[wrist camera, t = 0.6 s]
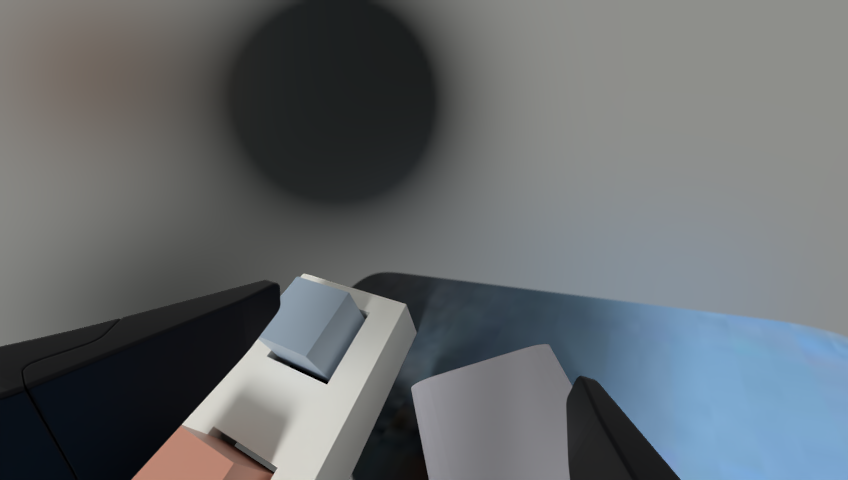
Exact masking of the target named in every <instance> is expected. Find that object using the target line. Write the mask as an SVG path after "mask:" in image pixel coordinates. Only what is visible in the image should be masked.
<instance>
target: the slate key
mask: <svg viewBox="0 0 848 480" xmlns="http://www.w3.org/2000/svg"><path fill="white" fill-rule="evenodd" d="M280 301H281V305H280V309H279V311H278V313H277V314H276V315H275V317H274V318H273V319H272V321H271V322H270V323H269V325H268V326H267V327H266V329H265V330H264V331H263V333H262V334H261V335H260V337H259V338H258V339H259V340H260V341H261V342H262V343H263V344H265V345H266V346H267V347H268V348H269V349H270V350H272V351H273V352H274V353H275V354H276V355H277V356H279V357H280V358H281V359H282V360H283V361H284V362H286V363H288V364H291V365H293V366H295V367H297V368H299V369H302V370H304V371H306V372H308V373H310V374H312V375H315V376H317V377H319V378H321V379H323V380H325V381H328V382H329V381H330V379H331V377H332V375H333V374H334V372H335V370H336V369H337V367H338V365H339V364H340V362H341V360H342V359H343V357H344V355H345V354H346V352H347V350H348V349H349V347H350V345H351V344H352V342H353V340H354V338H355V337H356V335H357V333H358V332H359V330H360V328H361V327H362V325H363V323H364V322H365V319H364V317H363V316H362V314H361V312H360V310H359V309H358V307H357V305H356V304H355V302H354V300H353V298H352V297H351V295H350V293H349V292H346V291H343V290H340V289H336V288H333V287H330V286H327V285H323V284H320V283H317V282H314V281H310V280H307V279H304V278H301V277H296V279H295V280H294V281H293V282H292V283H291V285H290V286H289V287H288V288H287V289H286V291H285V292H284V293H283V294H282V296H281V297H280Z"/></svg>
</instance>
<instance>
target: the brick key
mask: <svg viewBox="0 0 848 480" xmlns="http://www.w3.org/2000/svg"><path fill="white" fill-rule="evenodd" d="M273 475H274V472H273V471H271V470H269V469H268V468H266V467H265V466H263V465H262V464H260V463H259V462H257V461H256V460H254V459H253V458H251V457H250V456H248V455H247V454H245V453H244V452H242V451H241V450H239V449H238V448H236V447H235V446H233V445H232V444H230V443H229V442H227V441H224V440H221V439H219V438H216V437H213V436H211V435H208V434H205V433H202V432H200V431H197V430H194V429H192V428H189V427H186V426H184V425H181V426H180V427H179V428H178V429H177V430H176V431H175V433H174V434H173V435H172V436H171V437H170V438H169V439H168V440H167V441H166V442H165V444H164V445H163V446H162V447H161V448H160V449H159V450H158V451H157V452H156V453H155V454H154V456H153V457H152V458H151V459H150V460H149V461H148V462H147V463H146V464H145V465H144V467H143V468H142V469H141V470H140V471H139V472H138V473H137V474H136V475H135V476H134V478H133V479H132V480H271V478H272V476H273Z"/></svg>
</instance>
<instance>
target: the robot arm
mask: <svg viewBox="0 0 848 480" xmlns="http://www.w3.org/2000/svg"><path fill="white" fill-rule="evenodd" d="M280 305H281V301H280V286H279V285H278V283H276V282H272V281H269V280H263V281H259V282H255V283H251V284H248V285H244V286H240V287H236V288H232V289H229V290H225V291H221V292H218V293H214V294H210V295H206V296H202V297H198V298H195V299H191V300H187V301H183V302H180V303H175V304H172V305H168V306H164V307H160V308H157V309H153V310H149V311H146V312H142V313H138V314H134V315H130V316H126V317H123V318H121V319H115V320H111V321H107V322H104V323H100V324H96V325H92V326H88V327H84V328H80V329H76V330H72V331H67V332H63V333H59V334H54V335H50V336H46V337H41V338H37V339H33V340H28V341H23V342H19V343H14V344H10V345H5V346H1V347H0V480H132V479H133V478H134V476H135V475H136V474H137V473H138V472H139V471H140V470H141V469H142V468H143V467H144V465H145V464H146V463H147V462H148V461H149V460H150V459H151V458H152V457H153V456H154V454H155V453H156V452H157V451H158V450H159V449H160V448H161V447H162V446H163V445H164V444H165V442H166V441H167V440H168V439H169V438H170V437H171V436H172V435H173V434H174V433H175V431H176V430H177V429H178V428H179V427H180V426H181V425H182V424H183V423H184V422H185V420H186V419H187V418H188V417H189V416H190V415H191V414H192V413H193V412H194V411H195V410H196V408H197V407H198V406H199V405H200V404H201V403H202V402H203V401H204V400H205V399H206V397H207V396H208V395H209V394H210V393H211V392H212V391H213V390H214V389H215V388H216V386H217V385H218V384H219V383H220V382H221V381H222V380H223V379H224V378H225V377H226V376H227V374H228V373H229V372H230V371H231V370H232V369H233V368H234V367H235V366H236V365H237V363H238V362H239V361H240V360H241V359H242V358H243V357H244V356H245V354H246V353H247V352H248V351H249V350H250V348H251V347H252V346H253V345H254V343H255V342H256V341H257V339H258V338H259V337H260V335H261V334H262V333H263V331H264V330H265V329H266V327H267V326H268V325H269V323H270V322H271V321H272V319H273V318H274V317H275V315H276V314H277V313H278V311H279V309H280ZM566 417H567V447H568V467H569V475H570V480H680V478H679V477H678V476H677V475H676V474H675V472H674V471H673V470H672V469H671V468H670V467H669V465H668V464H667V463H666V462H665V461H664V459H663V458H662V457H661V456H660V455H659V454H658V452H657V451H656V450H655V449H654V448H653V446H652V445H651V444H650V443H649V442H648V441H647V439H646V438H645V437H644V436H643V435H642V433H641V432H640V431H639V430H638V429H637V428H636V426H635V425H634V424H633V423H632V422H631V420H630V419H629V418H628V417H627V416H626V415H625V413H624V412H623V411H622V410H621V409H620V407H619V406H618V405H617V404H616V403H615V402H614V400H613V399H612V398H611V397H610V396H609V394H608V393H607V392H606V391H605V390H604V389H603V387H602V386H601V385H600V384H599V383H598V382H597V381H596V380H594V379H591V378H587V377H584V376H579V377H578V378H577V379H576V381H575V383H574V385H573V387H572V389H571V391H570V393H569V395H568V397H567V401H566Z"/></svg>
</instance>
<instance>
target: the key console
mask: <svg viewBox="0 0 848 480" xmlns="http://www.w3.org/2000/svg"><path fill="white" fill-rule="evenodd" d="M301 278H304V279H307V280H310V281H314V282H317V283H320V284H323V285H327V286H330V287H333V288H336V289H340V290H343V291H346V292H349V293H350V295H351V297H352V298H353V300H354V302H355V304H356V305H357V307H358V309H359V310H360V312H361V314H362V316H363V317H364V319H365V322H364V323H363V325H362V327H361V328H360V330H359V332H358V333H357V335H356V337H355V338H354V340H353V342H352V344H351V345H350V347H349V349H348V350H347V352H346V354H345V355H344V357H343V359H342V360H341V362H340V364H339V365H338V367H337V369H336V370H335V372H334V374H333V375H332V377H331V379H330V381H329V382H328V384H325V383H323V382H320V381H318V380H316V379H314V378H312V377H310V376H307V375H305V374H303V373H301V372H299V371H297V370H295V369H292V368H290V367H289V366H290V365H291V364H288V363H286V362H284V361H283V360H282V359H281V358H280V357H279V356H277V355H276V354H275V353H274V352H273V351H272V350H270V349H269V348H268V347H267V346H266V345H265V344H263V343H262V342H261V341H260V340H259V339H257V341H256V342H255V343H254V345H253V346H252V347H251V348H250V350H249V351H248V352H247V353H246V354H245V356H244V357H243V358H242V359H241V360H240V361H239V362H238V363H237V365H236V366H235V367H234V368H233V369H232V370H231V371H230V372H229V373H228V374H227V376H226V377H225V378H224V379H223V380H222V381H221V382H220V383H219V384H218V385H217V386H216V388H215V389H214V390H213V391H212V392H211V393H210V394H209V395H208V396H207V397H206V399H205V400H204V401H203V402H202V403H201V404H200V405H199V406H198V407H197V408H196V410H195V411H194V412H193V413H192V414H191V415H190V416H189V417H188V418H187V419H186V420H185V422H184V423H183V424H182V425H184V426H186V427H189V428H192V429H194V430H197V431H200V432H202V433H205V434H208V435H211V436H213V437H216V438H219V439H221V440H224V441H227V442H229V443H230V444H232V445H233V446H234V445H235V444H236V443H237V442H238V443H240V444H242V445H243V446H245V447H246V448H248V449H249V450H251V451H252V452H254V453H255V454H257V455H258V456H260V457H262V458H263V459H265V460H266V461H268V462H269V463H271V464H272V465H274V466H275V467H277V470H276V471H275V473H274V475H273V476H272V478H271V480H349V478H350V476H351V474H352V472H353V470H354V468H355V466H356V463H357V461H358V459H359V457H360V455H361V453H362V450H363V448H364V446H365V444H366V442H367V440H368V438H369V435H370V433H371V431H372V429H373V427H374V425H375V422H376V420H377V418H378V416H379V414H380V412H381V410H382V407H383V405H384V403H385V401H386V399H387V397H388V394H389V392H390V390H391V388H392V386H393V384H394V382H395V379H396V377H397V375H398V373H399V371H400V369H401V366H402V364H403V362H404V360H405V358H406V356H407V354H408V351H409V349H410V347H411V345H412V343H413V341H414V338H415V336H416V334H417V332H416V329H415V327H414V324H413V321H412V318H411V316H410V313H409V310H408V308H407V305H406V304H404V303H401V302H398V301H394V300H391V299H388V298H384V297H381V296H377V295H374V294H371V293H367V292H364V291H361V290H357V289H354V288H351V287H347V286H344V285H341V284H337V283H334V282H331V281H327V280H324V279H321V278H317V277H314V276H311V275H307V274H303V275H302V276H301Z"/></svg>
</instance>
